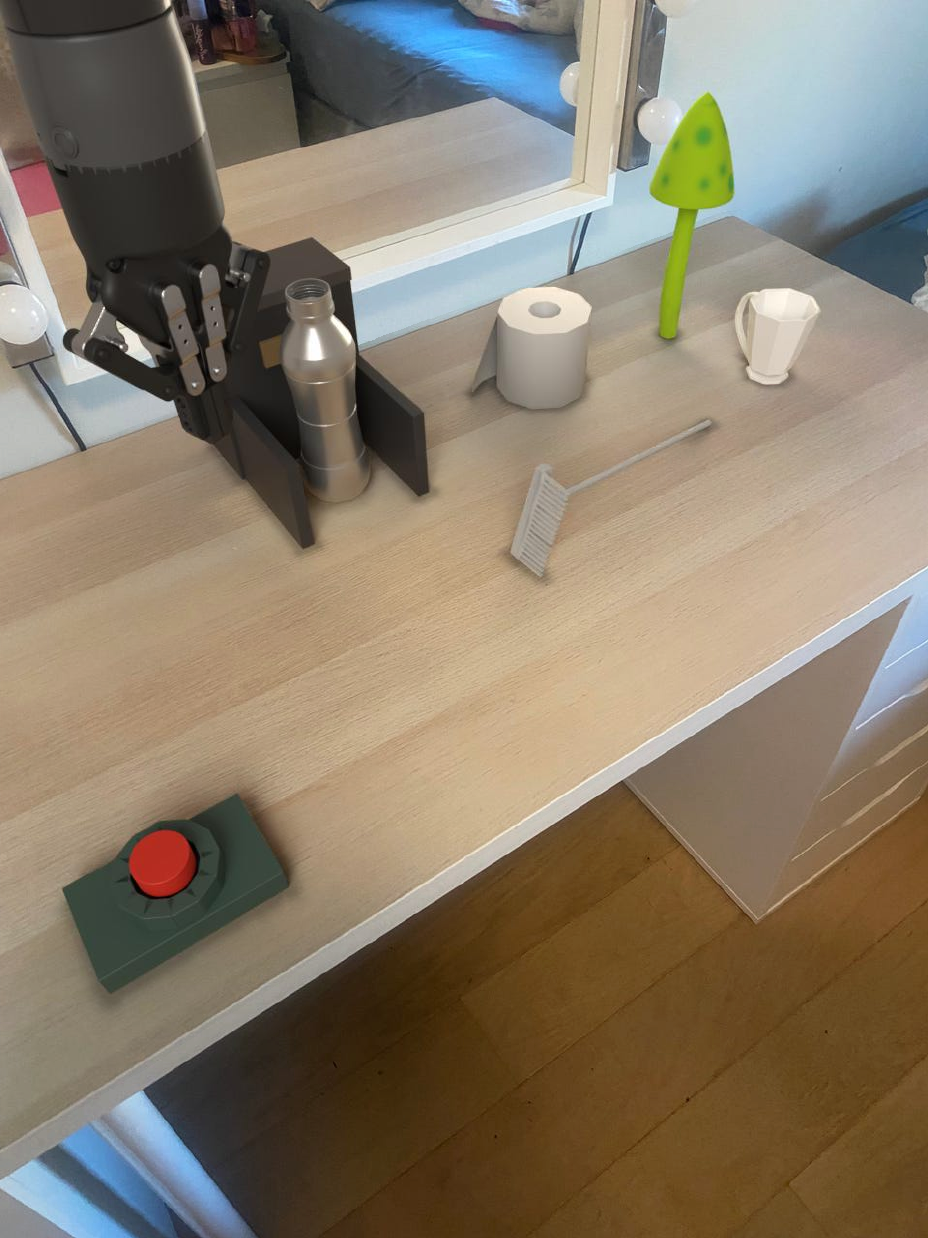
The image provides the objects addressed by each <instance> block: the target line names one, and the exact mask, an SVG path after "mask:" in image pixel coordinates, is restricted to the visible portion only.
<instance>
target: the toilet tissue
mask: <svg viewBox="0 0 928 1238" xmlns="http://www.w3.org/2000/svg"><path fill="white" fill-rule="evenodd" d="M592 310H593V307H592V306H591V305H590V304H589V303H588V302H587V301H586V300H585V299H584V298H583V296H582V295H581V294H580V293H577V292H574V291H570V290H566V289H563V288H560V287H556V286H541V287H539V286H538V287H524V288H522V289H520V290H517V291H515V292H513V293H511V294H509V295H506V296H504V297H503V298H502V301H501V302H500V305H499V307H498V309H497V312H496V317H495V320H494V323H493V326H492V329H491V331H490V334H489V336H488V340H487V342H486V344H485V348H484V350H483V353H482V356H481V359H480V361H479V364H478V367H477V370H476V372H475V374H474V375H475V376H474V380H473V384H472V389H471V392H470V394H472V393H474V391H475V390H477V388H478V387H479V385H481V384H482V382H484V381H485V380H488V379H490V378H492V377H494V376H496V388H497V389H498V391H499V392H500V393H501V395H502V396H503V397H504V398H505V399H506V401H507V402H509V403H512V404H515V405H517V406H521V407H524V408H527V409H529V410H544V409H545V410H546V409H560V408H563V407H565V406H566V405H568V404H570V403H572V402H574V401H576V400H578V399H579V398H581V397H582V393H583V389H584V386H585V384H586V383H585V382H586V376H587V375H586V373H587V366H588V365H587V364H588V363H587V362H588V354H589V353H588V352H589V342H590V331H591V321H592Z"/></svg>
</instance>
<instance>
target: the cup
mask: <svg viewBox="0 0 928 1238" xmlns="http://www.w3.org/2000/svg"><path fill="white" fill-rule="evenodd" d="M748 301H749V304H748ZM747 304H748V319H747V333H745V330H744V326H743V314H744V311H745V308H746V305H747ZM736 307H737V308H736V311H735V314H734V329H735V332H736V336H737V339H738V343H739V344H740V347H741V350H742V352H743V354H744V356H745V358H746V359H747V362H748V364H749V365H747V366H746V367H745V371H746V373H747V376H748V378H749V379H750V380H752V381H754V382H756V383H759V384H761V385H763V386H764V385H780V384H782V383H783V382H784V381H785V380H786V379H787V378H788V377H789V373H788V371H789V370H790V369H792V367H794V365H795V363H796V361H797V359H798V358H799V357H800V354H801V353H802V351H803V349H804V347H805V345H806V343H807V341H808V338H809V336H810V335H811V332H812V330H813V328H814V326H815V324H816V323H817V320H818V318H819V315H820V314H821V311H822V310H821V308H820V306H819V305H818V302H817V301H816V299H815V298H814V296H812V295H810V294H806V293H803V292H801V291H798V290H796V289H793V288H791V287H789V288H788V287H787V288H786V287H785V288H784V287H783V288H763V289H762V290H760V291H750V292H747V293H745V295H743V296H741V299H740V300H739V302H738V305H737V306H736Z"/></svg>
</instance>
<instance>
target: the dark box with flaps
mask: <svg viewBox="0 0 928 1238" xmlns="http://www.w3.org/2000/svg"><path fill="white" fill-rule="evenodd" d="M264 252H265V253H267V254H268V255H269V257H270V267H269V271H268V274H267V278H266V282H265V285H264V289H263V292H262V296H261V299H260V303H259V306H258V310H257V313H256V317H255V320H254V324H253V327H252V331H251V334H250V338H249V342H248V345H247V349H246V351H245V353H244V354H243V355H242V356H241V357H235V356H233V358H232V359H231V360H230V361H229V362H228V364H227V365H226V366H227V373H226V375H225V377H224V379H225V383H226V386H227V390H228V394H229V398H230V402H231V403H230V404H231V405H232V409H233V420H232V421H231V422H230V424H231V428H232V432H231V433H229V434H228V435H226V436H225V437H223V438H222V439H220V440H219V441H218V442H216V443H215V444H213V446H214V447H215V448H216V449H217V451H218V452H219V453H220V454H221V456H222V457H223V458H224V459H225V461H226V462H227V463H228V464H229V466H231V468H232V469H233V470H234V472H235V473H236V474H237V475H238V477H239V478H240V479H241V480H242V481H243V480H246V482H247V483H248V484H249V486H250V487H251V488H252V489H253V490H254V492H255V493H256V494H257V495H258V496H259V498H260V499H261V500H262V501H263V503H264V504H265V505H266V506H267V507H268V509H269V510H270V511H271V512H272V513H273V515H274V516H275V517H276V519H277V520H278V521H279V522H280V524H282V526H283V527H284V528H285V529H286V531H287V532H288V533H289V534H290V536H291V537H292V539H294V540H295V542H296V543H297V544H298V546H299V547H300V548H301V549H302V550H304V549H308V548H309V547H311V546H313V545H315V539H314V535H313V529H312V525H311V520H310V519H311V518H310V514H309V509H308V504H307V498H306V494H305V488H304V484H303V477H302V475H301V467H300V463H299V462H298V461H297V460H296V459H298V458H300V453H301V441H300V430H299V421H298V417H297V412H296V409H295V405H294V401H293V397H292V393H291V390H290V387H289V384H288V382H287V379H286V376H285V373H284V370H283V367H282V365H281V361H280V357H279V347H280V340H281V337H282V335H283V333H284V331H285V328H286V327H287V325H288V324H289V322H290V320H291V319H290V318H289V316H288V314H287V308H286V307H287V302H286V296H285V290H286V288H287V286H289V285H290V284H291V283H293V282H295V281H298V280H301V279H308V278H313V279H320V280H323V281H325V282H327V283H328V284H329V286H330V289H331V295H332V300H333V302H334V308H335V310H334V313H333V315H334V316H335V317H336V318H338V319H339V320H340V321H341V322H342V323H343V325H344V326H345V327H346V328H347V329H348V330H349V332H350V334H351V336H352V338H353V341H354V343H355V350H356V367H355V394H356V408H357V417H358V421H359V426H360V430H361V435H362V439H363V442H364V444H365V446H366V447H368V448H369V449H370V451H372V452H373V453H374V454H375V455H376V456H377V457H378V458H379V459H380V460H381V461H382V462H383V463H384V464H385V465H386V466H387V467H388V468H389V469H390V470H391V471H392V472H393V473H395V475H396V476H397V477H398V478H399V479H400V480H401V481H402V482H403V483H404V484H405V485H407V487H408V488H409V489H410V490H411V491H412V492H414V494H416V496H417V497H422V496H424V495H427V494H428V493H430V483H429V482H430V481H429V480H430V479H429V467H428V450H427V435H426V433H427V432H426V418H425V412H424V411H423V410H422V409H421V408H420V407H419V406H418V405H417V404H415V403H414V402H413V401H412V400H411V399H410V398H409V397H407V395H405V393H403V392H402V391H401V390H400V389H399V388H397V387H396V385H394V384H393V383H392V382H391V381H390V380H388V378H387V377H385V376H384V375H382V373H381V372H380V371H378V370H377V369H376V368H375V367H374V366H373V365H372V364H370V362H368V361H367V360H366V359H365V358H364V357H363V356H362V355H360V351H359V343H358V342H359V341H358V332H357V325H356V317H355V309H354V299H353V293H352V283H351V281H352V280H353V279H352V271H351V266H350V265H348V264H347V263H346V262H345V261H343V260H342V259H341V258H339V257H338V256H337V255H336V254H334V253H333V252H332V251H330V250H329V249H328V248H327V247H325V246H324V245H323V244H322V243H320V242H319V241H318V240H317V239H315V238H314V237H313V236H310V237H307V238H305V239H301V240H298V241H294V242H291V243H288V244H284V245H282V246H279V247H274V248H272V249H269V250H265V251H264ZM233 316H234V310H233V309H232V310H231V312H230V315H229V319H228V323H227V326H226V330H228V331H230V327H231V323H232V320H233Z"/></svg>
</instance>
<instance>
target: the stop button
mask: <svg viewBox="0 0 928 1238" xmlns="http://www.w3.org/2000/svg"><path fill="white" fill-rule="evenodd" d="M129 868H130V872H131V874H132V876H133V877H134V879H135V880H136V882H137V883H138V885H139V887H140V888H141V889H142V890H143V891H144V892H145V893H147V894H149V895H151V896H156V897H164V896H169V895H172V894H175V893H177V892H178V891H180V890H181V889H183V888H184V887H185V886H186V885H187V884H188V883H189V882H190V880H191V879H192V877H193V875H194V872H195V869H196V858H195V855H194V853H193V851H192V849H191V847H190V845H189V843H188V841H187V840H186V838H185V837H184V836H183V835H181V834H180V833H178V832H175V831H171V830H161V831H156V832H153V833H151V834H149V835H147V836H146V837H144V838H143V839H142V840H140V841H139V842H138V844H137V845H136V846H135V847H134V849H133V851H132V853H131V855H130V859H129Z"/></svg>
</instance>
